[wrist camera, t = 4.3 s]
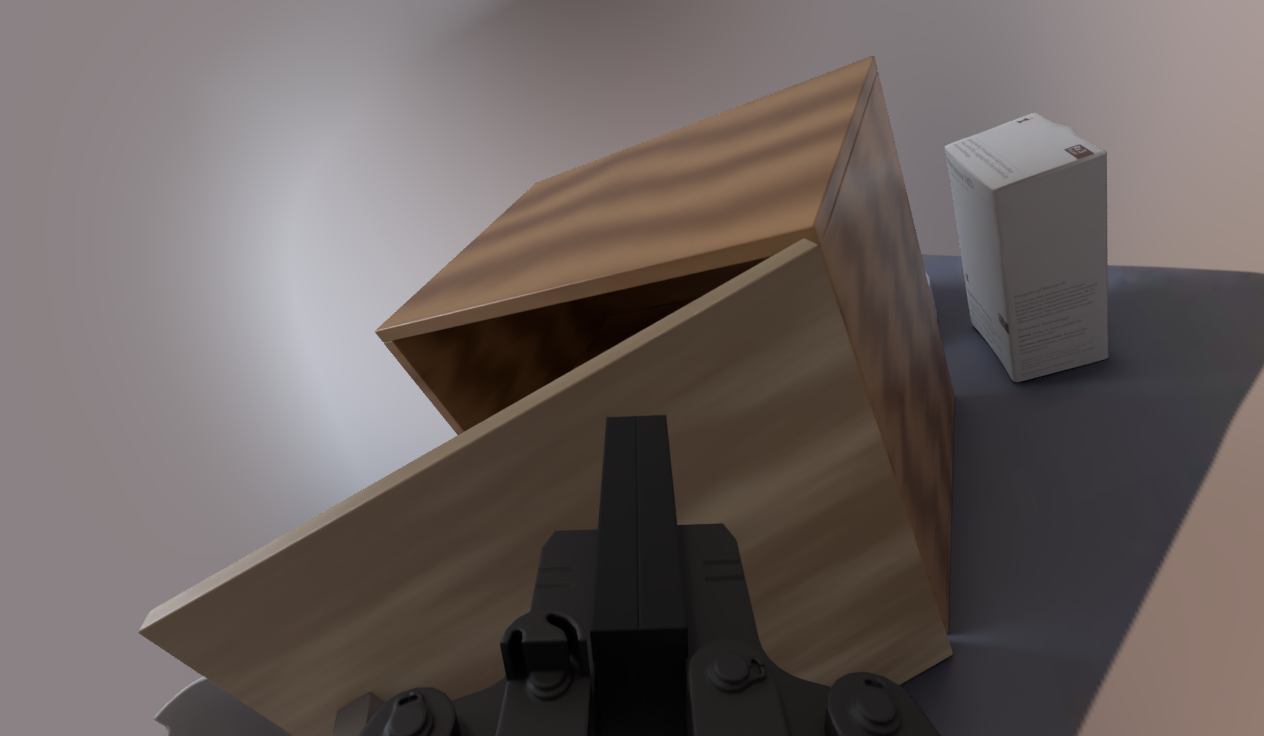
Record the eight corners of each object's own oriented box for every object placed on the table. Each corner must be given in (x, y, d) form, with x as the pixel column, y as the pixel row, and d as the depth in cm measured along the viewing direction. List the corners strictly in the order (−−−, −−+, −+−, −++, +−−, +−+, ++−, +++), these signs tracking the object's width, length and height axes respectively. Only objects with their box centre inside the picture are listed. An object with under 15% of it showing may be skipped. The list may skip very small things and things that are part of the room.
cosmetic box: (970, 325, 48) (934, 146, 40) (1056, 298, 46) (1034, 105, 39) (1017, 389, 41) (984, 187, 33) (1121, 360, 39) (1109, 140, 32)
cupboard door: (1042, 759, 25) (936, 299, 14) (545, 1045, 25) (28, 817, 14) (941, 639, 31) (804, 236, 19) (530, 875, 30) (149, 610, 19)
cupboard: (948, 635, 31) (813, 224, 19) (582, 590, 44) (373, 331, 32) (954, 394, 43) (874, 54, 31) (666, 416, 56) (535, 182, 44)
